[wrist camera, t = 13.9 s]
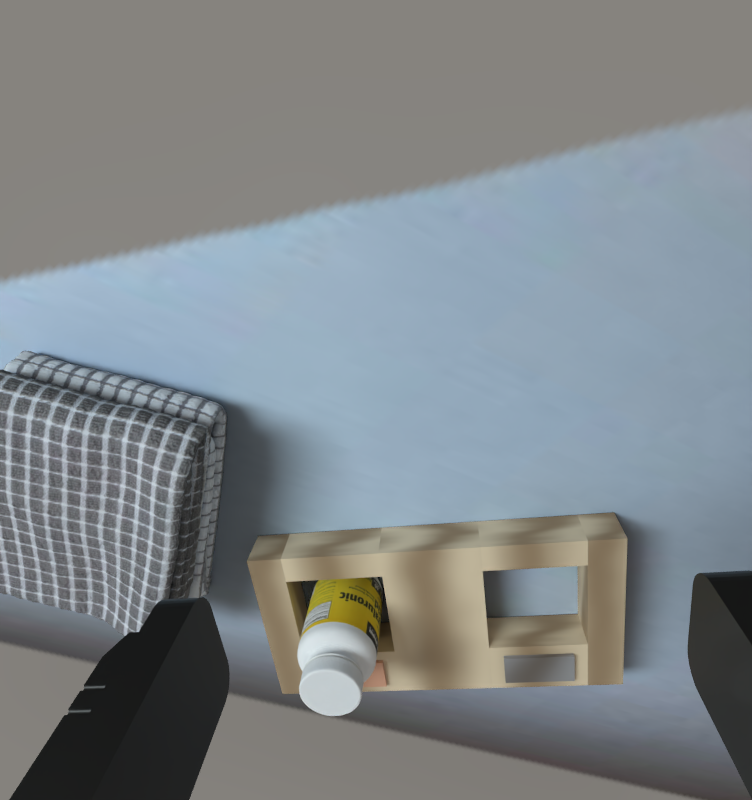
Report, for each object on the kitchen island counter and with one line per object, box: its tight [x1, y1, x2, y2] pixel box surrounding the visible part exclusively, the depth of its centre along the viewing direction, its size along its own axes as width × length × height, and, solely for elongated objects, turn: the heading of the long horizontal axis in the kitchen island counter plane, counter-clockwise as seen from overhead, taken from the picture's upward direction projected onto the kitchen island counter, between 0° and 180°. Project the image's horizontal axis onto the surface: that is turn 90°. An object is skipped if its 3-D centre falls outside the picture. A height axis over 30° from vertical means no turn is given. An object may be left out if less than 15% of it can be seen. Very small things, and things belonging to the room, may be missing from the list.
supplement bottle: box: [297, 577, 383, 716], centre depth 41 cm, size 5×5×10 cm
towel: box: [0, 351, 227, 636], centre depth 40 cm, size 15×18×8 cm
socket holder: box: [247, 513, 627, 694], centre depth 43 cm, size 26×13×3 cm, turn 98°
